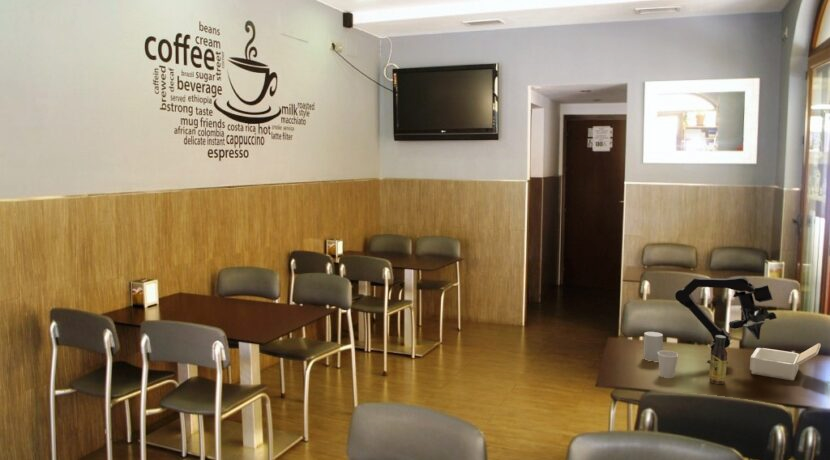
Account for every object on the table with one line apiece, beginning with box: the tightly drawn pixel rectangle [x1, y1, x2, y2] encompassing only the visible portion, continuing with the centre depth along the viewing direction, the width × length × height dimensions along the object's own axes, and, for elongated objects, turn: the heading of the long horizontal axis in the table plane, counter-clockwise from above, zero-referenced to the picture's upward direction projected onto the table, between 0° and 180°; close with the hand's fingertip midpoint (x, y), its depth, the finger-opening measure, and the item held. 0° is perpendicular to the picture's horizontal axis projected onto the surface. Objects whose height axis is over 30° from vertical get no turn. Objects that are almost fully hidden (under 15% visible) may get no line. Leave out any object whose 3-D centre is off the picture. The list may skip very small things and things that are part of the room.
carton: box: [749, 347, 801, 381], centre depth 297 cm, size 17×20×7 cm
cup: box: [642, 331, 664, 361], centre depth 313 cm, size 8×8×12 cm
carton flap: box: [796, 342, 822, 366], centre depth 289 cm, size 9×17×1 cm
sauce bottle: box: [708, 335, 728, 385], centre depth 282 cm, size 6×6×20 cm
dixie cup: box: [658, 350, 679, 379], centre depth 290 cm, size 8×8×10 cm
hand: (758, 339), depth 299 cm, fingers closed
